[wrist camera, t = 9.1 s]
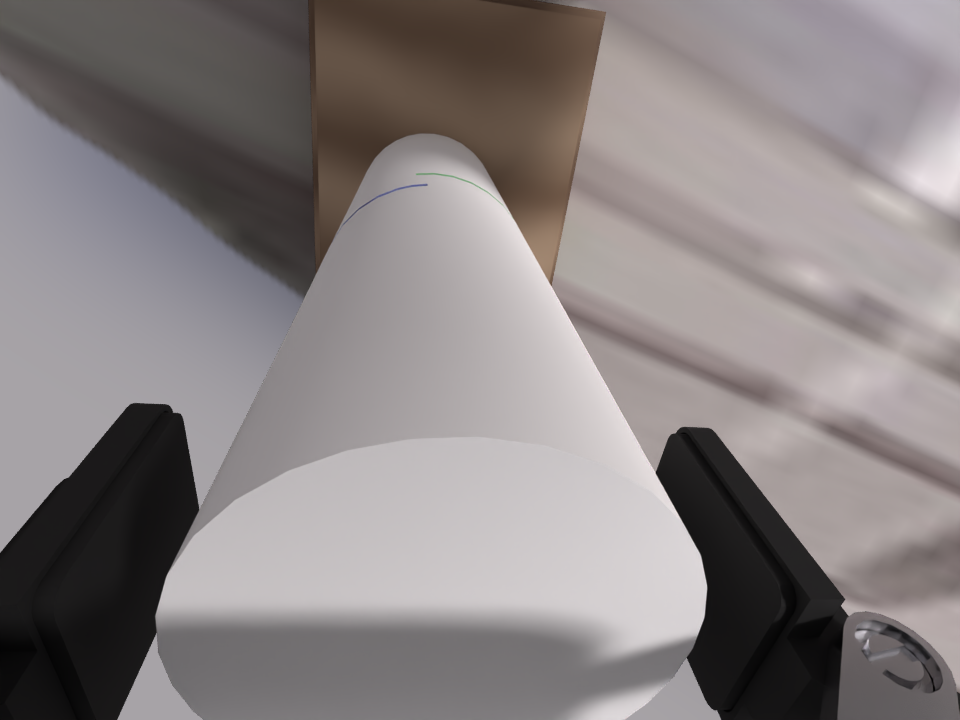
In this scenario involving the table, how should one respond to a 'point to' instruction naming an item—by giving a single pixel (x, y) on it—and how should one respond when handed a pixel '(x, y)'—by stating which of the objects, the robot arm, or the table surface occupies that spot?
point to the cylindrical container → (431, 492)
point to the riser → (453, 98)
